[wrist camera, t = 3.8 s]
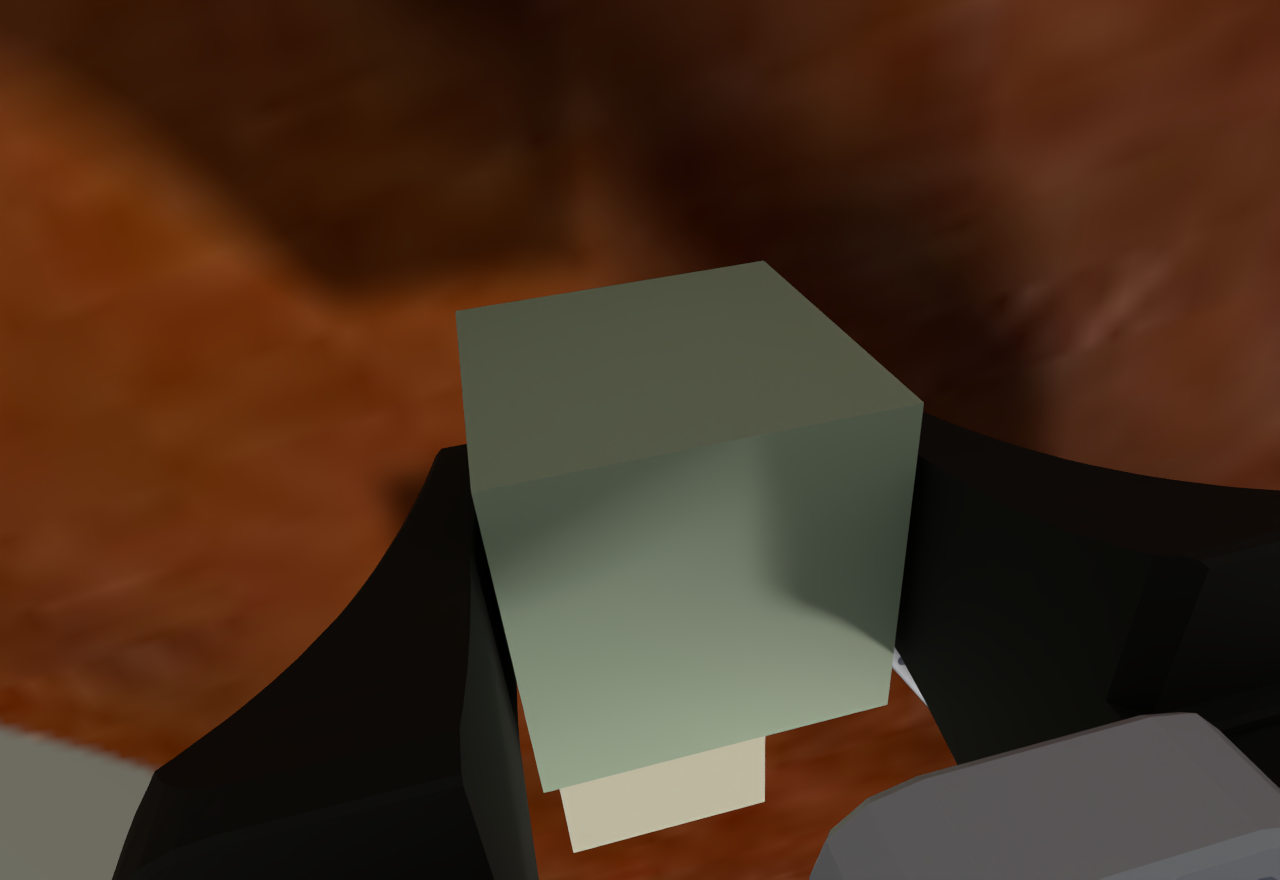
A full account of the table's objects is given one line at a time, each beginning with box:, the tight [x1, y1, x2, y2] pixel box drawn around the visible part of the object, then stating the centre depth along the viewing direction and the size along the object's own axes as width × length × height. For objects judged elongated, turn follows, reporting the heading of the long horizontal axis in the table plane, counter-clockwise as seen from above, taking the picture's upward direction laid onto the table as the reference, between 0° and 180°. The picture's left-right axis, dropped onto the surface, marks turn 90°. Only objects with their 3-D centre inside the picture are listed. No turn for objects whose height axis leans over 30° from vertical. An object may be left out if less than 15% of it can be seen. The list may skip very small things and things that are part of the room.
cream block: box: [560, 736, 765, 853], centre depth 21 cm, size 5×5×5 cm
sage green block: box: [456, 261, 924, 793], centre depth 12 cm, size 5×5×5 cm
